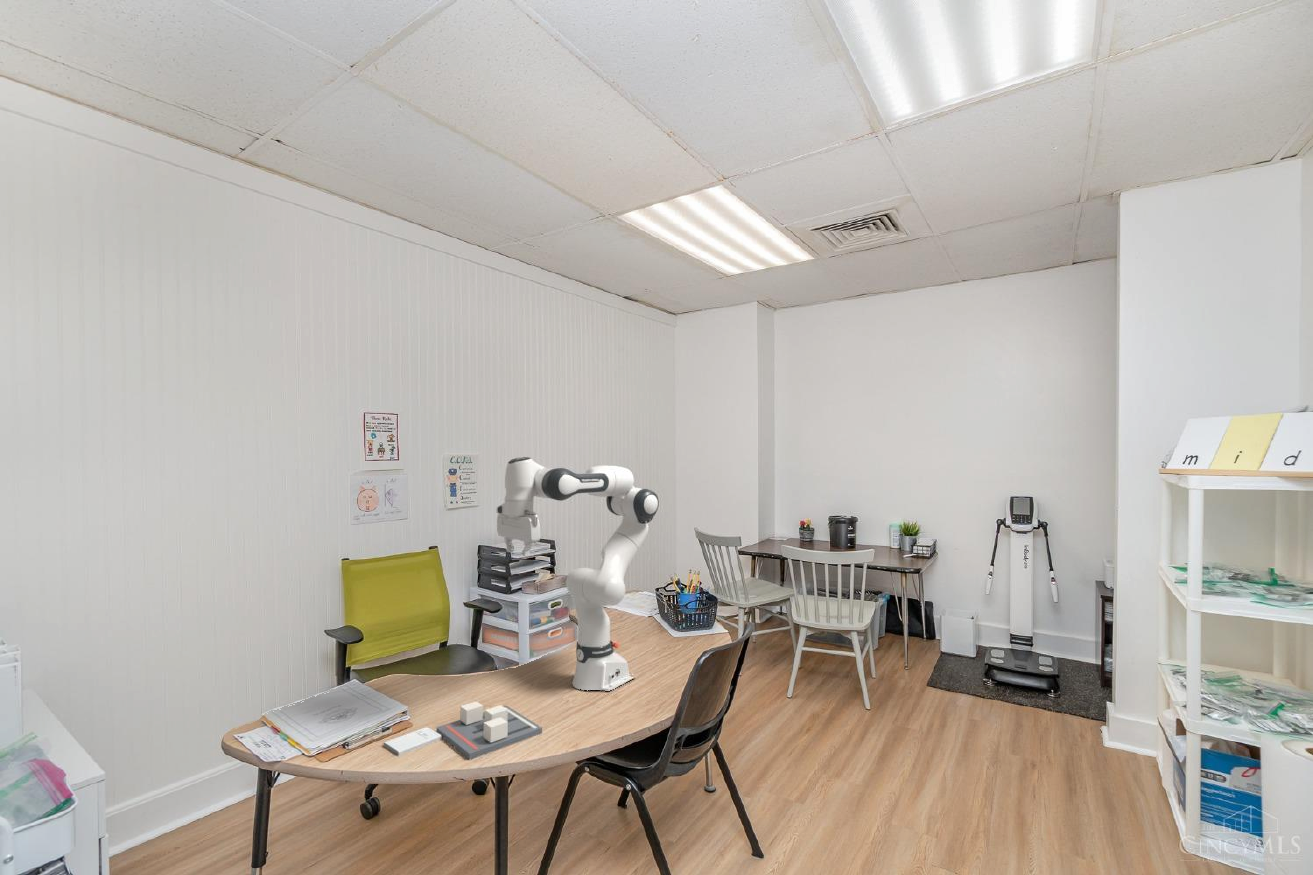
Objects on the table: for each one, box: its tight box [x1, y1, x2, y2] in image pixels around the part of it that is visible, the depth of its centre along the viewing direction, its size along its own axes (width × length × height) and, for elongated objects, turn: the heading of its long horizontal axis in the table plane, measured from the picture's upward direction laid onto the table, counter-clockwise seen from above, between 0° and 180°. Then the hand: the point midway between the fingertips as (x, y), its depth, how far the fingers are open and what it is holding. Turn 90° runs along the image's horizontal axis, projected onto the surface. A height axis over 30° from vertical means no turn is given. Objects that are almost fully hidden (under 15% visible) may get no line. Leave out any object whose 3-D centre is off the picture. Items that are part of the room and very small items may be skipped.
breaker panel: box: [436, 704, 543, 761], centre depth 169 cm, size 22×20×2 cm
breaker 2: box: [483, 717, 508, 743], centre depth 163 cm, size 5×4×4 cm
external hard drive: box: [383, 726, 443, 757], centre depth 163 cm, size 2×8×12 cm
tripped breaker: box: [484, 704, 508, 722], centre depth 171 cm, size 5×4×4 cm
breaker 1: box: [459, 701, 484, 725], centre depth 173 cm, size 5×4×4 cm
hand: (517, 553), depth 186 cm, fingers open, 8 cm apart
